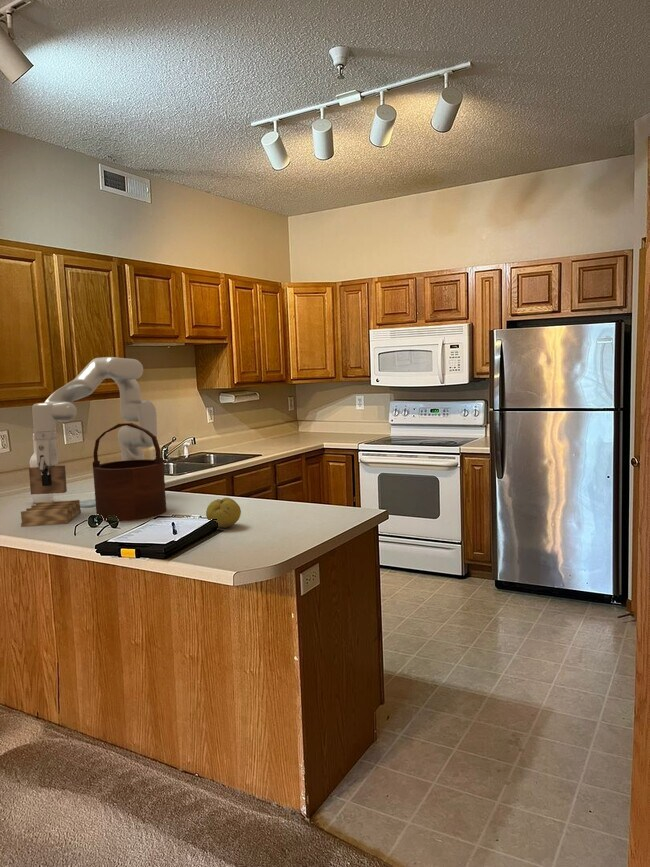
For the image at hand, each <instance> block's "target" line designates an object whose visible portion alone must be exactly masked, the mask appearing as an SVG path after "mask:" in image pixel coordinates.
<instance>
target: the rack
mask: <svg viewBox="0 0 650 867" xmlns="http://www.w3.org/2000/svg"><path fill="white" fill-rule="evenodd" d="M81 513H82V509H81V508H80V499H74V500H58V501H57V500H56V501H54V500H53V501H51V502H37V503H35V504H31V506H30V507H27V508H26V509H25V510H22V511H20V518H21V522H20V525H21V527H30V526H31V527H33V526H36V527H37V526H47V525H64V524H69V523H71V521H73V520H74V519H75V518H76V517H78V515H80V514H81Z"/></svg>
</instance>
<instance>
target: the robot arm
mask: <svg viewBox="0 0 650 867" xmlns="http://www.w3.org/2000/svg"><path fill="white" fill-rule="evenodd" d="M143 373H144V366H143V364H142V363H141V362H140V361H139V360H138V359H135V358H128V357H127V358H126V357H124V358H123V357H115V356H105V357H103V356H102V357H95V358H93V359H91V361H90V362H88V363H87V365H86V366H84V368H83V369H82V370H81V371H80V372H79V373H78V375H77V376H75V378H74V379H72V380H71V381H69V382H67V383H66V384H65V385H63V386H61V387H59V388H58V389H56V390H55V391H53V392H52V393H51V394H50V395H49V397H47V399H46V400H45V401H44V402H39V403H34V404H33V405H32V408H31V410H32V412H31V413H32V421H33V422H32V423H33V434H34V441H37V443H36V454H37V465H38V467H40V470H41V475H42V486H51V485H52V483H51V475H50V467H52V466H58V464H59V452H58V446H57V441H56V440H57V426H56V425H57V424H56V422H69V421H72V420H73V419H75V417H76V416H77V414H78V409H77V407H76V406H75V404H74V403H73V402H74V401H75V402H76V401H78V400H81V399H83V398H86V397H89V396H90V395H92V394H93V393H94V392H95V390H96V389H97V388H98V387H99V385H100V384H101V383H103V381H104V380H105V379H111V380H113V381H114V382H115V384H116V385H117V387H118V390H119V401H120V402H119V404H120V405H119V406H120V416H121V419H122V420H124V421H125V422H129V423H134V422H135V423H136V422H137V423H138V424H136V425H137V426H140V427H142V428H144V429H146V430H148V431H149V432H151V433H152V434H153V435H154V436H156V438H157V439H158V422H157V421H158V420H157V418H158V417H157V416H158V414H157V408H156V406H155V404H154V403H153V402H152V401H151V400H149V399H142V396H141V389H140V385H139V382H138V381H137V379H140V378H141V377H142V375H143ZM117 441H118V444H119V448H120V453H121V461H125V460H142V459H146V458H145V453H144V451H143V449H142V448H151V447H154V444H153V441H152V438H151V437H150V436H149V435H147V434H146V433H145V432H144V431H142V430H139V429H136V428H133V427H130V426H121V427H120V428H119V430H118V432H117ZM44 466H48V467H44ZM45 468H47V469H45Z"/></svg>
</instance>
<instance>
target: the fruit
mask: <svg viewBox="0 0 650 867" xmlns="http://www.w3.org/2000/svg"><path fill="white" fill-rule="evenodd" d="M205 512H206V513H205V516H206V519H207V521H208V520H211V519H217V520H214V521H216V522H217V523H218V526H217V527H219V528H224V529H227V528H229V527H232V526H233V525H235V524H237V522H238V521H239V519H240V518H241V516H242V515H241V514H242V509H241V507H240V505H239V504H238V503H237V502H236V501H235V500H234V499H232V498H230V497H224V498H222V499H220V498H218V499H214V500H213V501H211V502H210V503H209V505H208V506H207V508H206V511H205Z"/></svg>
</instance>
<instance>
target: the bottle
mask: <svg viewBox="0 0 650 867" xmlns="http://www.w3.org/2000/svg"><path fill="white" fill-rule="evenodd" d="M32 441H33V442H32V443H33V454H32V455H31V457H30V459H29V468H30V467H38V465H37V454H36V443H37V441H34V433H33V434H32ZM32 500H33V502H34V504H36V503H37V502H52V501H54V493H53V494H32Z"/></svg>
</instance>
